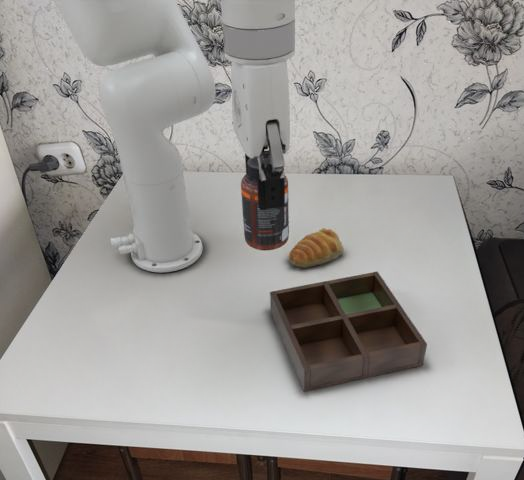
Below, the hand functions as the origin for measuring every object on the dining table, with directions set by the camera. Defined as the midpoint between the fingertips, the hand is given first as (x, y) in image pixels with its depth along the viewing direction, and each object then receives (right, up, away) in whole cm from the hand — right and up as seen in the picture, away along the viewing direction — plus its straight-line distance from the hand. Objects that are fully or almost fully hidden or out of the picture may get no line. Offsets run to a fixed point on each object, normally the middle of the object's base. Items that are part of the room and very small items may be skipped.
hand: (265, 192), depth 74 cm
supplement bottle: (0, -5, +5) cm, 7 cm away
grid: (+12, -18, +13) cm, 25 cm away
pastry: (+9, -4, +29) cm, 30 cm away
